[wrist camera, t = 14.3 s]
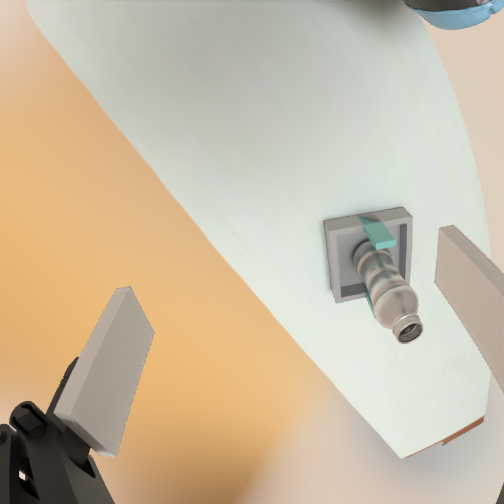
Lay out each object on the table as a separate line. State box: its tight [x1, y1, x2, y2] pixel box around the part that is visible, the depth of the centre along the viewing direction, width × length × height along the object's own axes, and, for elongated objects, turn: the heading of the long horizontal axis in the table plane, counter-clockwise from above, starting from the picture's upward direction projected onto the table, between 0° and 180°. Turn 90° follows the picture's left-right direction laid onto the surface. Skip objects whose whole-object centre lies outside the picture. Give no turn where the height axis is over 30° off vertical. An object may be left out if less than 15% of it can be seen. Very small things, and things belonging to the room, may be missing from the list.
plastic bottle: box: [353, 241, 423, 344], centre depth 44 cm, size 6×7×20 cm
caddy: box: [324, 207, 413, 319], centre depth 49 cm, size 14×14×10 cm
